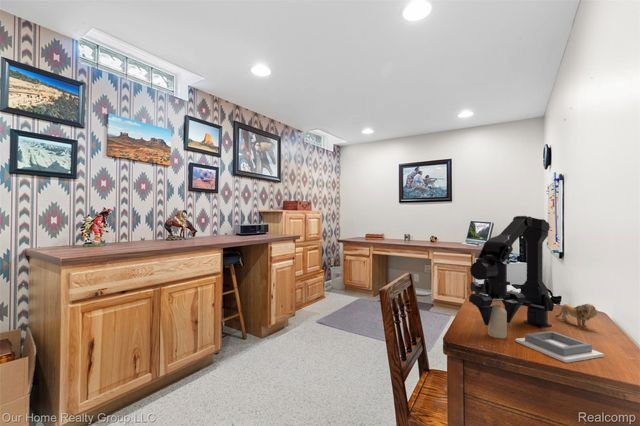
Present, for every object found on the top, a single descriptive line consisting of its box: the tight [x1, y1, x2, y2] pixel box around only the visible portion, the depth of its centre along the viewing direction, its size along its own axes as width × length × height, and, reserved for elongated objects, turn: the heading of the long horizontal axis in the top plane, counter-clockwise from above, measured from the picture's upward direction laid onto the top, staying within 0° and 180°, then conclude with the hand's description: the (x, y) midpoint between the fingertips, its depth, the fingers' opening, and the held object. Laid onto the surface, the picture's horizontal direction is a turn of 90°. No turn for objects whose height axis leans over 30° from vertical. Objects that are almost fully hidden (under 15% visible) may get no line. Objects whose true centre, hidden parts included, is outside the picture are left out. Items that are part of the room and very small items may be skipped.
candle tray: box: [515, 330, 604, 364], centre depth 90 cm, size 15×15×3 cm
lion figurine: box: [555, 303, 599, 328], centre depth 113 cm, size 15×5×9 cm, turn 13°
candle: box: [487, 304, 508, 339], centre depth 100 cm, size 6×6×10 cm
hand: (497, 323), depth 100 cm, fingers open, 9 cm apart
